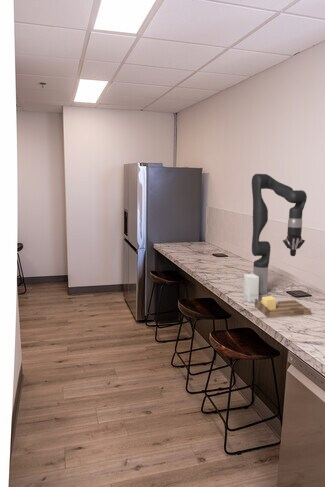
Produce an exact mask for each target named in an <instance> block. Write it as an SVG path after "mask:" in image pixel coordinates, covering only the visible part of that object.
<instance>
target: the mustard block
mask: <svg viewBox="0 0 325 487" xmlns="http://www.w3.org/2000/svg"><path fill="white" fill-rule="evenodd" d="M276 301H277V299H276V298H275V297H274V296H272V295H269V296H261V302H262V304H263V305H265V306H266V307H267V308H268V309H276Z"/></svg>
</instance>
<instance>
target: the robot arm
mask: <svg viewBox="0 0 325 487" xmlns="http://www.w3.org/2000/svg"><path fill="white" fill-rule="evenodd" d="M266 189H268V190H271V191H273V192H274V193H275V194H276V195H277V196H279V197H281V198H283V199H284V200H286V202H288V203H290V204H295V205H294V206H293V207H290V208H289V212H288V213H289V214H288V219H287V220H288V221H287V231H286V232H287V233H286V235H287V236H286V238H285V239H283V240H282V242H283V244H284V245H285V247H286V248H287V249H289V255H290V256H291V257H295V256H296V254H297V249H300V248H301V247H302V246H303V244H304V243H305V242H306V240H305V239H303V238H302V229H303V211H304V209H305V206H306V203H307V199H308V196H307V192H305V191H304V190H301V189H300V190H294V189H293V187H291V186H289V185H286V184H285V183H282V182H280V181H278V180H276V179H274V177H272V176H271V175H269V174H267V173H254V175H253V176H252V177H251V191H252V192H251V194H252V238H251V239H252V241H251V253H252V256H254V257H260V258H258V259H256V260H254V261H253V269H252V274H255V275H256V276H258V277H259V295H265V294H267V293H268V284H269V283H268V281H269V264H270V258H271V244H270V242H269V241H266V240H261V241H260V236H261V233H262V232H263V229H264V228H265V226H266V225H267V223H268V220H269V210H268V207H267V204H266V202H265V201H264V199H263V196H262V190H266Z"/></svg>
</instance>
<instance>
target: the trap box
mask: <svg viewBox="0 0 325 487" xmlns="http://www.w3.org/2000/svg"><path fill="white" fill-rule="evenodd" d="M277 301H278V304H276V309H268V308H267V307H266V306H265V305H263V304H262V301H260V300H259V299H258V300H257V299H255V302H254V307H255V308H256V310H258V311H259V312H261V313H262V314H263V315H264V316H265V317H266V318H279V317H280V318H281V317H295V316H309V315H310V316H311V314H312V313H311V312H312V311H311V309H309V308H308V307H307V306H305V305H303V304H302V303H300V302H299V301H297V300H296V299H290V300H289V299H288V300H277Z"/></svg>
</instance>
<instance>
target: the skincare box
mask: <svg viewBox="0 0 325 487" xmlns="http://www.w3.org/2000/svg"><path fill="white" fill-rule="evenodd" d="M259 295H260V294H259V277H258V276H256V275H255V274H253V273H245V274H243V299H244V300H245V301H247V303H250V304H251V303H255V299H257V300H258V301H259Z"/></svg>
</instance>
